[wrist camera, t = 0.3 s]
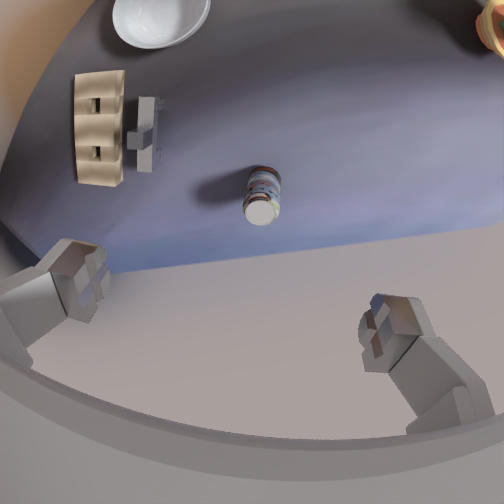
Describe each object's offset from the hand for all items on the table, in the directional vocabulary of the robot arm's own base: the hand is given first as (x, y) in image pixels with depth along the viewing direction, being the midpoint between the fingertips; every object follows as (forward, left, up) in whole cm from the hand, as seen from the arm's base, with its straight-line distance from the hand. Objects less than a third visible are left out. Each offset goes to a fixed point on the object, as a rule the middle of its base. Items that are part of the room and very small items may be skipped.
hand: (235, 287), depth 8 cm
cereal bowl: (-17, -21, -47) cm, 54 cm away
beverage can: (+15, +1, -47) cm, 49 cm away
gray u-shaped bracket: (+7, -21, -47) cm, 52 cm away
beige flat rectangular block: (+7, -34, -47) cm, 58 cm away
